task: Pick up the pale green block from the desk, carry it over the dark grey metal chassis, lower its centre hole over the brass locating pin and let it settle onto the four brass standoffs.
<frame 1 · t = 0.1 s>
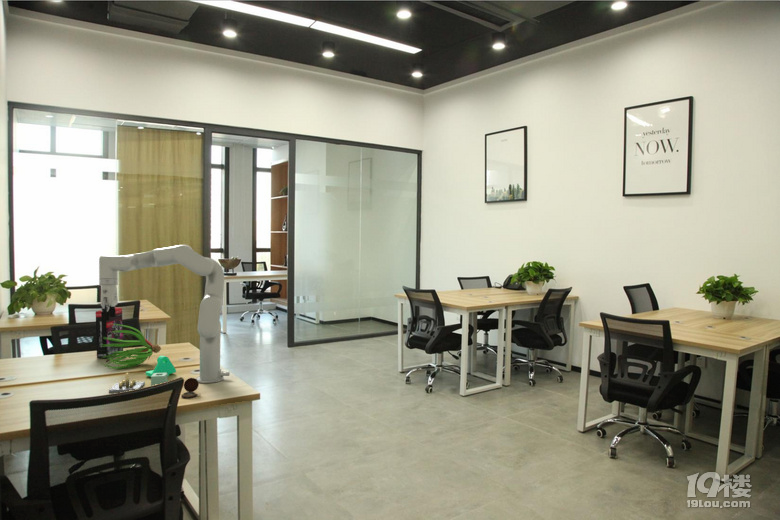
hand: (108, 318, 236), 31 cm above the table, tool pointing down, fingers open, 9 cm apart
decorative plant: (130, 366, 271), on the table
pale green block: (159, 385, 237), on the table
chassis: (127, 388, 231), on the table
graphics card box: (109, 356, 294), on the table
compass: (191, 396, 222), on the table
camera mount: (160, 376, 254), on the table
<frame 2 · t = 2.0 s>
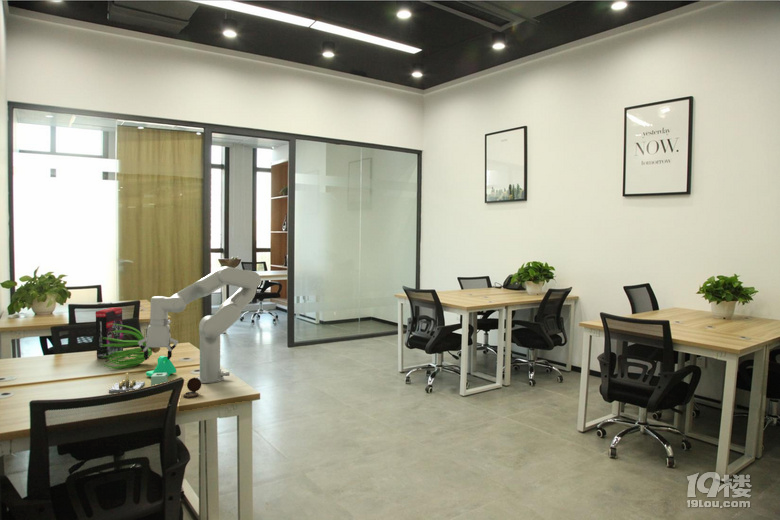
hand: (157, 359, 237), 12 cm above the table, tool pointing down, fingers open, 9 cm apart
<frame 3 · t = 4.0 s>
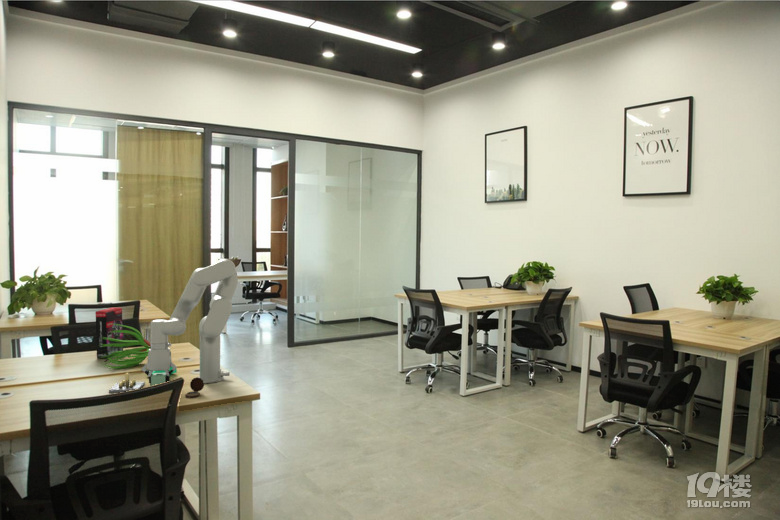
hand: (159, 383, 237), 1 cm above the table, tool pointing down, fingers closed on pale green block, 6 cm apart
pale green block: (159, 385, 237), on the table, touching gripper
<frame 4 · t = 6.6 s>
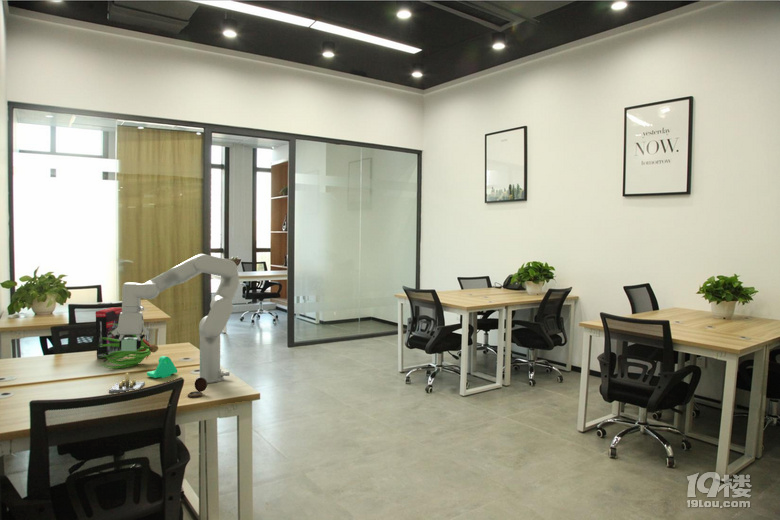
hand: (130, 348, 231), 18 cm above the table, tool pointing down, fingers closed on pale green block, 6 cm apart
pale green block: (130, 349, 231), point 18 cm above the table, touching gripper
compass: (198, 396, 223), on the table
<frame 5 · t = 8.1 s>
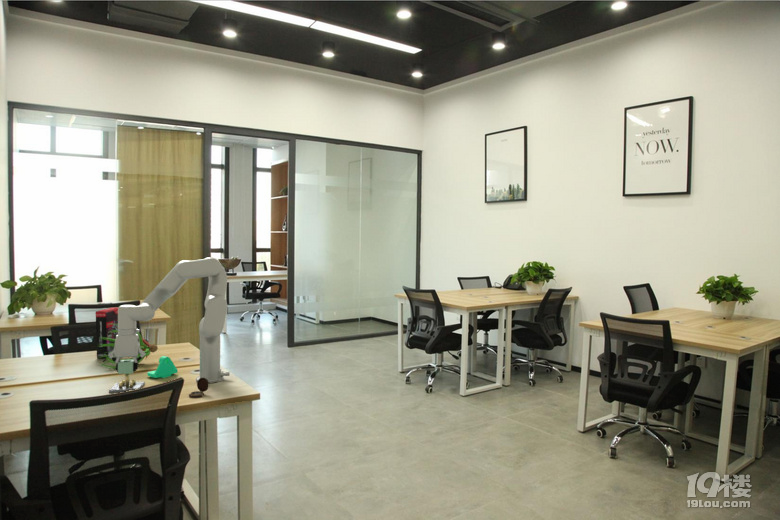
hand: (126, 370, 231), 8 cm above the table, tool pointing down, fingers closed on pale green block, 6 cm apart
pale green block: (126, 372, 231), point 8 cm above the table, touching gripper
when the fingers open (5 cm above the table, at t = 9.4 s): pale green block drops 2 cm, resting on chassis.
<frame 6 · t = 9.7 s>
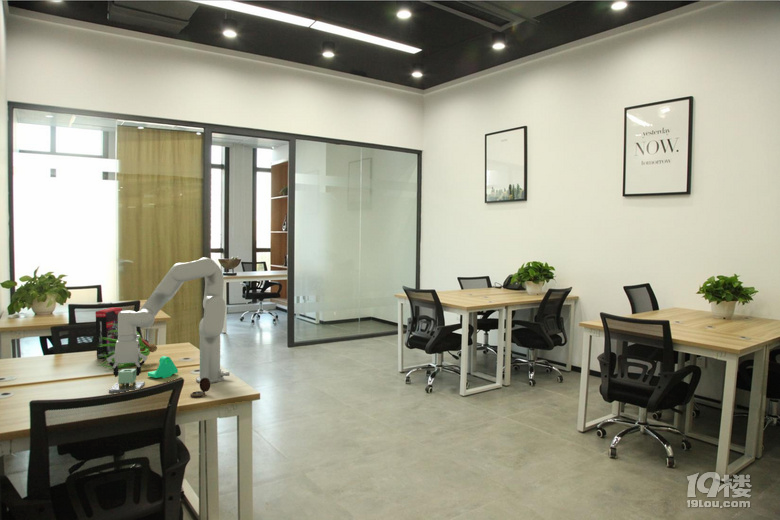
hand: (127, 375, 231), 6 cm above the table, tool pointing down, fingers open, 8 cm apart
pale green block: (127, 381, 231), point 3 cm above the table, touching chassis
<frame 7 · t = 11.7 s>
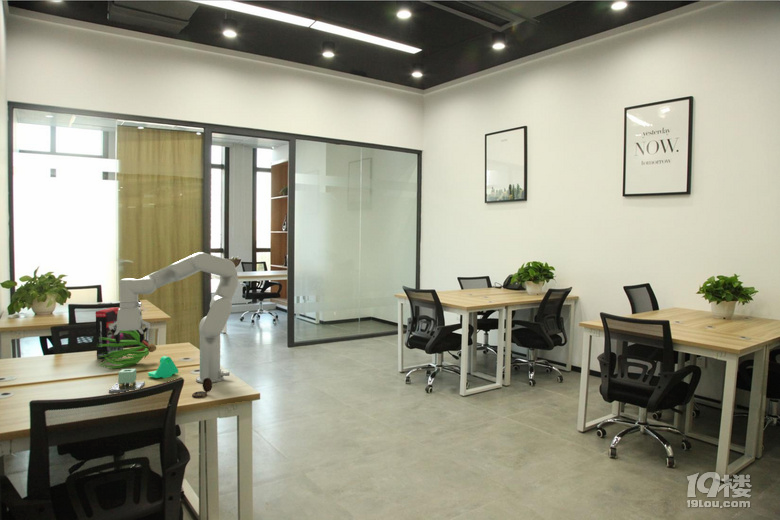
hand: (130, 342, 232), 21 cm above the table, tool pointing down, fingers open, 9 cm apart
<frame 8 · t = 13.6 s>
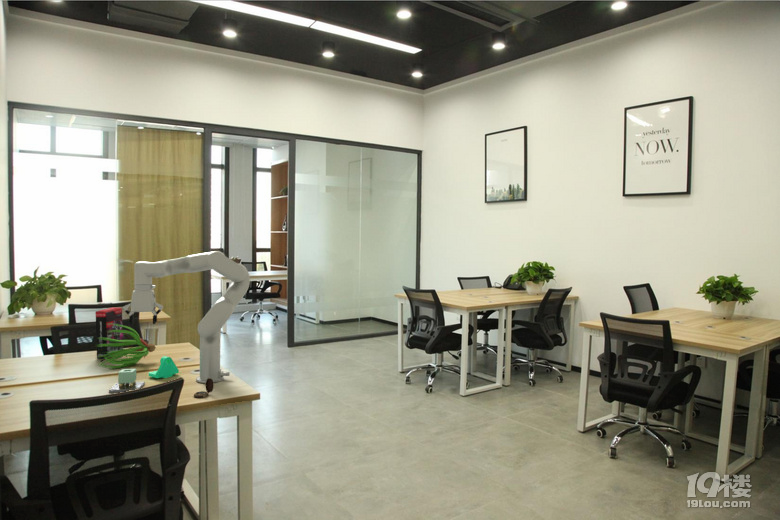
hand: (143, 323, 239), 28 cm above the table, tool pointing down, fingers open, 9 cm apart
at the end: pale green block 0.1 cm off-centre on the chassis, point 3.2 cm above the chassis's base; pale green block tilted 0°; the gripper is holding nothing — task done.
